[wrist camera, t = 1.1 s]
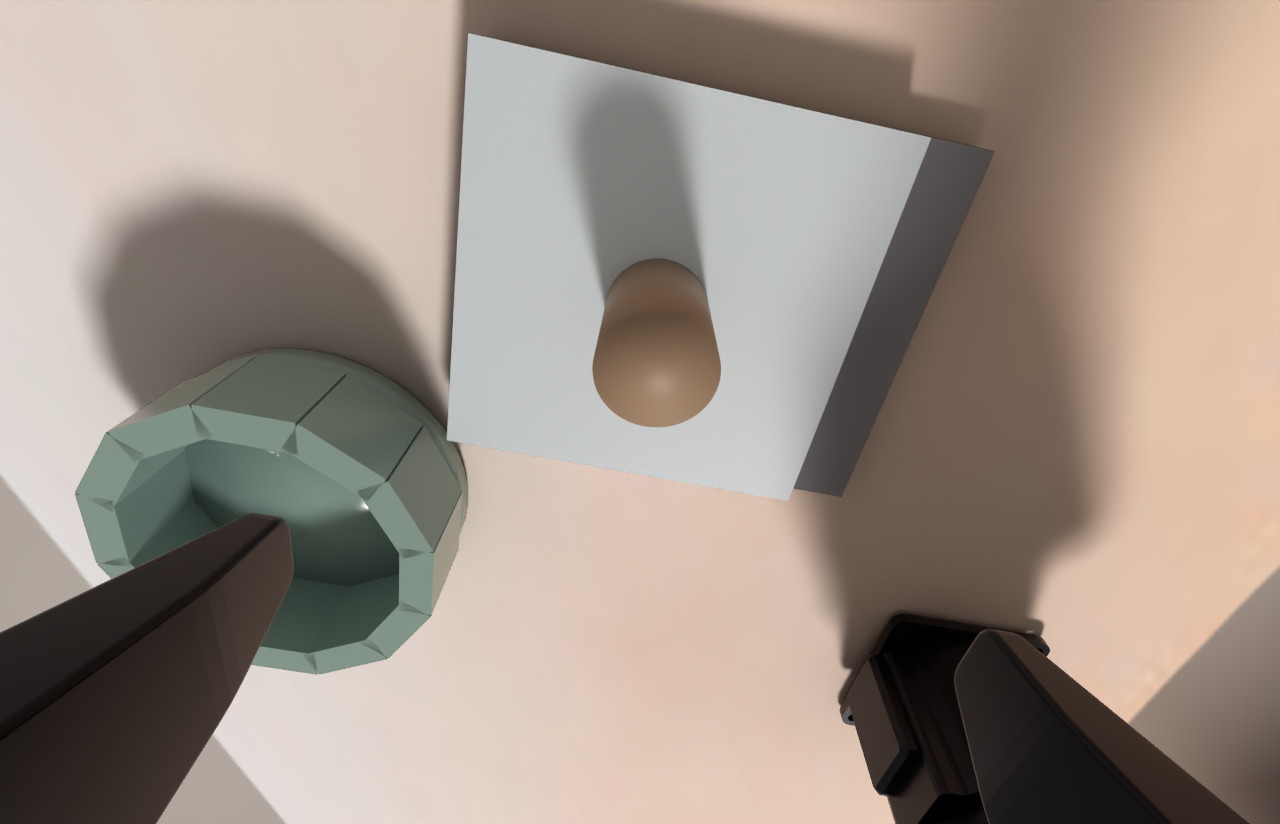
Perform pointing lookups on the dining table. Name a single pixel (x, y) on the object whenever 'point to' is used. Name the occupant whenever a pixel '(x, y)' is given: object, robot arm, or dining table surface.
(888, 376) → the mat
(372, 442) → the bowl
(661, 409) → the lid
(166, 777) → the robot arm
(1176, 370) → the dining table surface
